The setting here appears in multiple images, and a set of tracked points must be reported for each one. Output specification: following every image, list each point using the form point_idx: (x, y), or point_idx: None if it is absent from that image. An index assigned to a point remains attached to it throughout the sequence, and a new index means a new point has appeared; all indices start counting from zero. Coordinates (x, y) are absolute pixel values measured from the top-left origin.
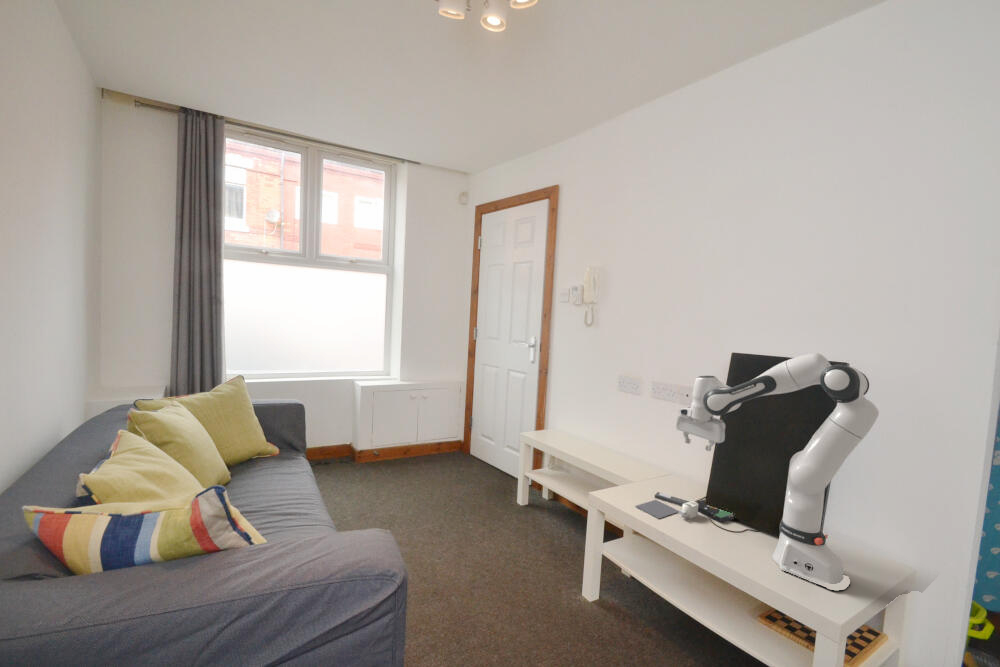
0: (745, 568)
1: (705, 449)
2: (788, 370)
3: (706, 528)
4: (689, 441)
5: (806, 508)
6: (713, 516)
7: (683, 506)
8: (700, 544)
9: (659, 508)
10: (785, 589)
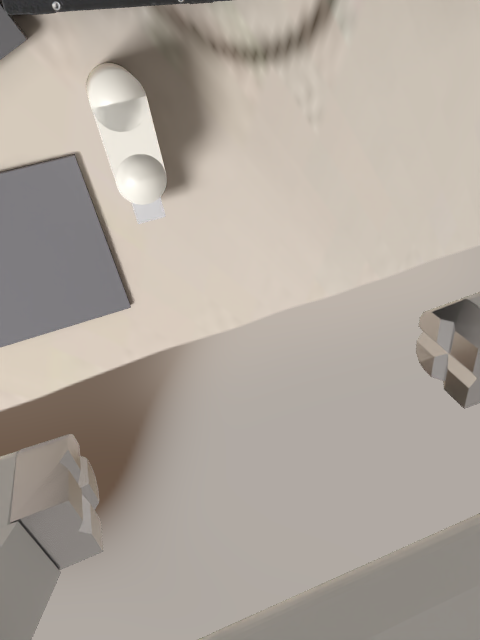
0: (461, 225)
1: (421, 364)
2: None
3: (252, 144)
4: (71, 476)
5: None
6: (193, 3)
7: (140, 202)
8: (324, 266)
9: (32, 248)
10: None
